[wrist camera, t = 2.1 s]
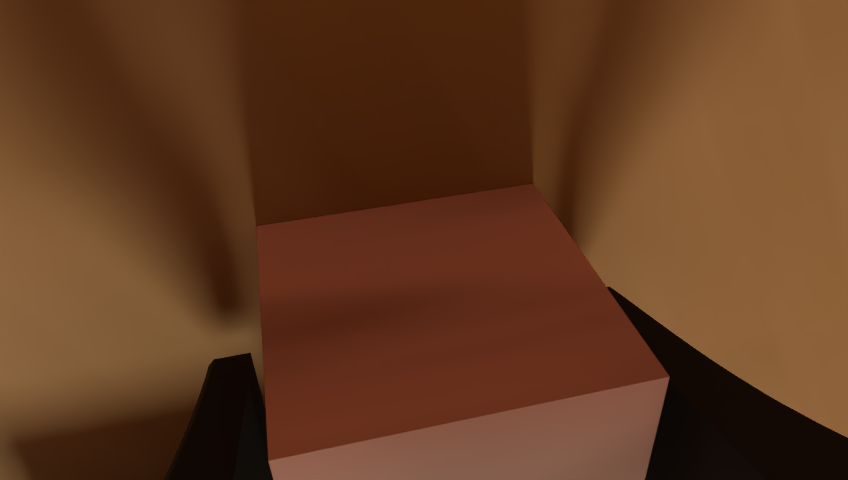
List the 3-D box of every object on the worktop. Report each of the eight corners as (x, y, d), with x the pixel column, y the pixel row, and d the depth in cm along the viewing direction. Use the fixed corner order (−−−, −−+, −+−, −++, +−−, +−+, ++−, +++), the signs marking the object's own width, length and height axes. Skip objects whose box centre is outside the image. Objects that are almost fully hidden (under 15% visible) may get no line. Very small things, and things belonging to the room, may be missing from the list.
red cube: (520, 371, 16) (619, 583, 12) (298, 416, 15) (323, 660, 11) (531, 181, 13) (670, 376, 9) (256, 223, 12) (268, 461, 8)
